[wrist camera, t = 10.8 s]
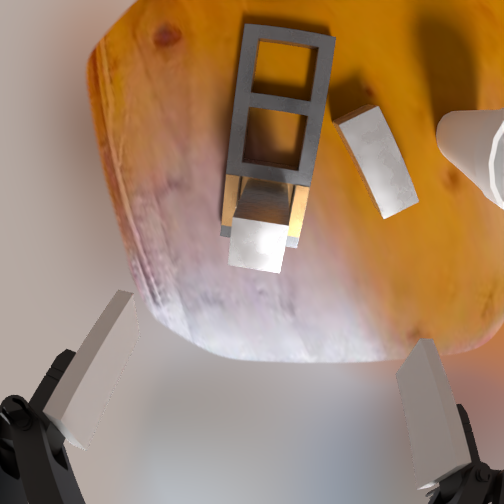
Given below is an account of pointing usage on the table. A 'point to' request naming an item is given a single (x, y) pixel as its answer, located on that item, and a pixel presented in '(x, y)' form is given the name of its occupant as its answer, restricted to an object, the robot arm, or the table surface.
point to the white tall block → (260, 227)
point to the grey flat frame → (247, 99)
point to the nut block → (377, 159)
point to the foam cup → (476, 148)
